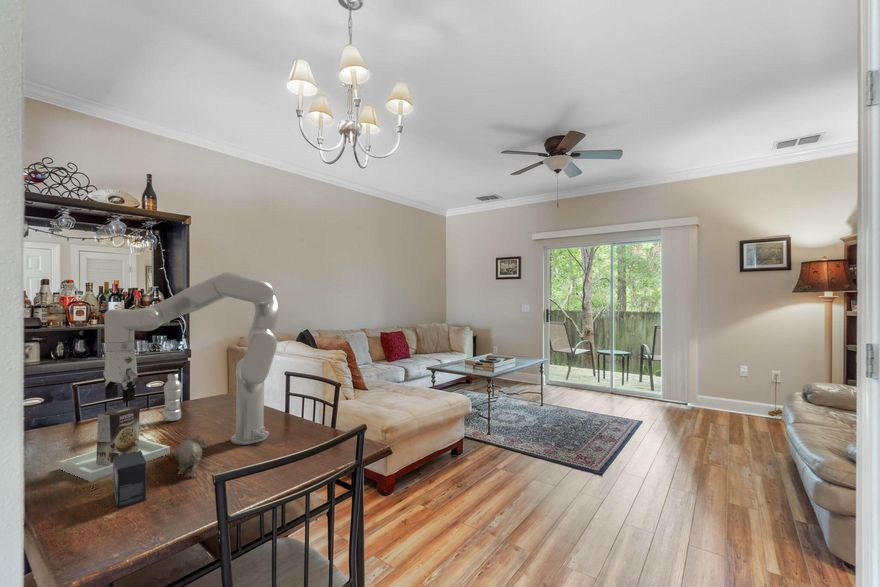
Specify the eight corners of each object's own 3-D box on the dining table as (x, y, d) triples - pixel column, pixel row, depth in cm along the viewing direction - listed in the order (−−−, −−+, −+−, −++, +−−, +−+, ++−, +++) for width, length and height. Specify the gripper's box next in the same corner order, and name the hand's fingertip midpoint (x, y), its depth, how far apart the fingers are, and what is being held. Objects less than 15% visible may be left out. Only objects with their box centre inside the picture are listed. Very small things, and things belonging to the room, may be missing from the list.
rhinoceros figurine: (164, 477, 112) (177, 424, 120) (171, 487, 122) (183, 438, 130) (195, 475, 115) (206, 424, 123) (200, 485, 125) (210, 437, 133)
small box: (111, 493, 107) (112, 455, 107) (141, 486, 112) (141, 449, 112) (115, 509, 99) (116, 468, 100) (147, 500, 104) (147, 461, 104)
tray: (169, 454, 133) (169, 446, 133) (90, 482, 113) (91, 473, 113) (138, 445, 141) (138, 437, 141) (59, 469, 121) (59, 461, 121)
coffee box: (111, 466, 122) (112, 415, 122) (95, 464, 123) (96, 413, 124) (139, 455, 131) (140, 407, 131) (124, 453, 132) (125, 405, 132)
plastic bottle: (165, 419, 170) (166, 373, 170) (183, 417, 172) (184, 372, 172) (160, 423, 164) (160, 376, 164) (178, 422, 166) (179, 375, 166)
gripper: (148, 347, 127) (148, 399, 127) (118, 344, 134) (118, 393, 134) (121, 350, 120) (122, 405, 120) (91, 346, 127) (91, 399, 127)
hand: (120, 399), depth 127 cm, fingers open, 9 cm apart
